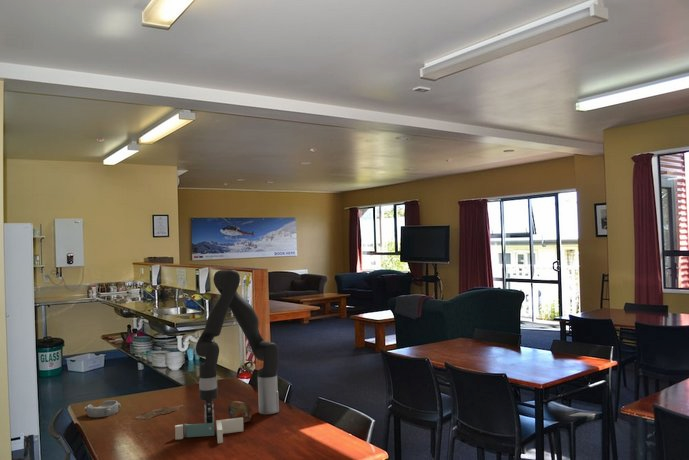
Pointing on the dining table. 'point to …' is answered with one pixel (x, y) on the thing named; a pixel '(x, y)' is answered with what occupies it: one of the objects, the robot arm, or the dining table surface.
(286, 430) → the dining table surface
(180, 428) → the grey angled piece
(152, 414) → the wooden fragment
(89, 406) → the dish
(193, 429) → the teal long flat block
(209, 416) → the block
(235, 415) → the tin
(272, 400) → the robot arm
